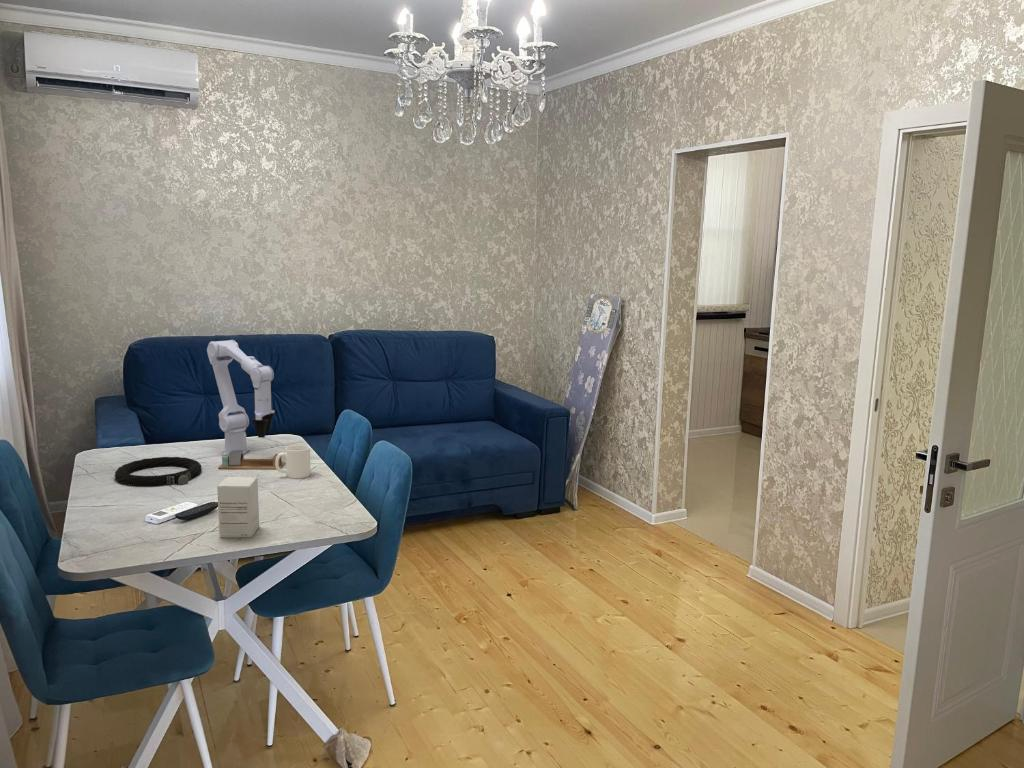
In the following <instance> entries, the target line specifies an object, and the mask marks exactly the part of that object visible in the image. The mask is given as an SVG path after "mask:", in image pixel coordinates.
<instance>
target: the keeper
mask: <svg viewBox="0 0 1024 768" xmlns="http://www.w3.org/2000/svg"><path fill="white" fill-rule="evenodd" d="M244 457H245V454H244V452H243V450H232V451H231V452H230V453H229V466H241V459H245V458H244Z"/></svg>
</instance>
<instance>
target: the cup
mask: <svg viewBox="0 0 1024 768" xmlns="http://www.w3.org/2000/svg"><path fill="white" fill-rule="evenodd" d="M277 454H278V455H277V457H276V461H275V466H276V469H277V470H276V471H277V472H279V473H282V474H285V475H286V477H287V478H289V479H294V480H295V479H297V480H298V479H300V480H301V479H305V478H308V477H309V476H311V447H310V446H309V445H305V444H294V445H293V444H292V445H288V446H286V447H285V452H280V453H277ZM281 456H282V457H285V468H284V469H283V468H281V469H280V468H279V465H278V462H279V458H280V457H281Z"/></svg>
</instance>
